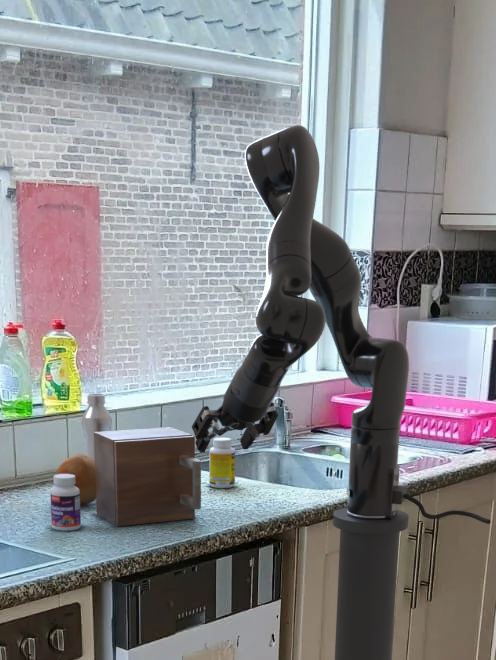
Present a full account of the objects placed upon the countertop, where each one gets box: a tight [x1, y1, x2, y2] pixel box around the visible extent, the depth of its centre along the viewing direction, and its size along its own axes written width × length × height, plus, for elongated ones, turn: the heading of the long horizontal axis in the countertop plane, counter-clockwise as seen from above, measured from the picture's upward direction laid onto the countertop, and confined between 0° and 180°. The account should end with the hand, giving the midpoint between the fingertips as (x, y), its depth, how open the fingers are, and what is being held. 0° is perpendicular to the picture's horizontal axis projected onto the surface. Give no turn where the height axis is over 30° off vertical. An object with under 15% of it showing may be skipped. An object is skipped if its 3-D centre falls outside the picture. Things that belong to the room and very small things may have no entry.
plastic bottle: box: [81, 392, 113, 461], centre depth 252 cm, size 6×7×20 cm
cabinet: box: [94, 426, 193, 527], centre depth 231 cm, size 10×16×16 cm, turn 118°
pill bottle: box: [50, 474, 82, 532], centre depth 222 cm, size 5×5×10 cm
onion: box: [54, 453, 96, 507], centre depth 240 cm, size 10×10×10 cm
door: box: [114, 435, 202, 527], centre depth 223 cm, size 8×16×16 cm, turn 118°
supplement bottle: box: [208, 437, 236, 489], centre depth 260 cm, size 6×6×10 cm
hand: (221, 447), depth 211 cm, fingers open, 8 cm apart
